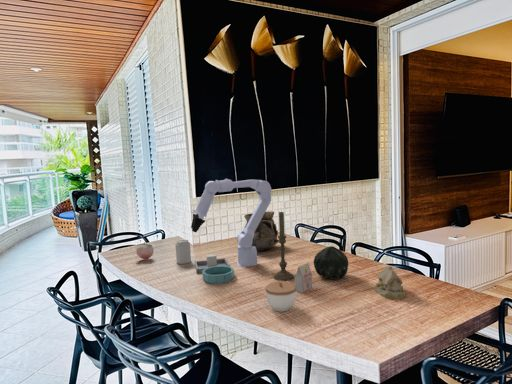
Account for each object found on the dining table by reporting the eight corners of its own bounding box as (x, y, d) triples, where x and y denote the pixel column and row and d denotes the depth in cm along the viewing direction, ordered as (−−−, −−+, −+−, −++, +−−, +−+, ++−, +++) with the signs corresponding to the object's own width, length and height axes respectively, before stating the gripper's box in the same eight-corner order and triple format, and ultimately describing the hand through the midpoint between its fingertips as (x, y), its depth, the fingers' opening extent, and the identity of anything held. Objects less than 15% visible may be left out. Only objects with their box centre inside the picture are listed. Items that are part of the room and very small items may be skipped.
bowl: (231, 271, 170) (230, 264, 170) (236, 281, 157) (236, 273, 156) (201, 275, 167) (201, 267, 167) (204, 285, 153) (204, 277, 153)
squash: (329, 256, 169) (317, 237, 161) (358, 263, 159) (346, 243, 150) (316, 282, 163) (302, 263, 155) (345, 291, 152) (332, 271, 144)
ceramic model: (370, 286, 145) (370, 262, 144) (398, 285, 144) (398, 261, 143) (382, 300, 131) (382, 273, 130) (413, 299, 130) (413, 272, 129)
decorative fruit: (157, 257, 202) (155, 240, 201) (151, 261, 194) (150, 243, 193) (141, 257, 203) (139, 240, 202) (134, 261, 195) (133, 243, 194)
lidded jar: (264, 303, 132) (263, 278, 131) (293, 300, 133) (292, 276, 132) (268, 315, 121) (267, 288, 120) (299, 313, 122) (298, 286, 121)
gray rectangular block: (215, 265, 179) (215, 254, 179) (216, 268, 176) (216, 256, 175) (206, 266, 178) (206, 254, 178) (207, 269, 175) (207, 257, 174)
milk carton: (295, 290, 143) (294, 266, 142) (304, 286, 148) (304, 262, 147) (302, 293, 140) (302, 268, 139) (312, 287, 145) (311, 263, 144)
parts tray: (225, 262, 186) (225, 258, 185) (230, 270, 172) (229, 265, 172) (194, 266, 182) (194, 261, 182) (197, 274, 168) (196, 269, 168)
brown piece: (256, 242, 229) (255, 209, 227) (288, 246, 215) (287, 211, 213) (231, 251, 208) (229, 214, 207) (264, 256, 195) (263, 217, 193)
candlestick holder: (295, 274, 162) (293, 209, 160) (291, 281, 154) (288, 212, 151) (276, 273, 165) (274, 209, 163) (270, 279, 157) (268, 212, 154)
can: (187, 265, 184) (186, 242, 183) (174, 265, 186) (172, 242, 184) (193, 261, 191) (191, 239, 190) (180, 260, 193) (178, 239, 192)
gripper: (195, 199, 180) (185, 224, 179) (198, 202, 166) (186, 230, 165) (208, 205, 181) (198, 229, 181) (212, 208, 167) (200, 235, 167)
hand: (193, 230), depth 173 cm, fingers open, 7 cm apart
